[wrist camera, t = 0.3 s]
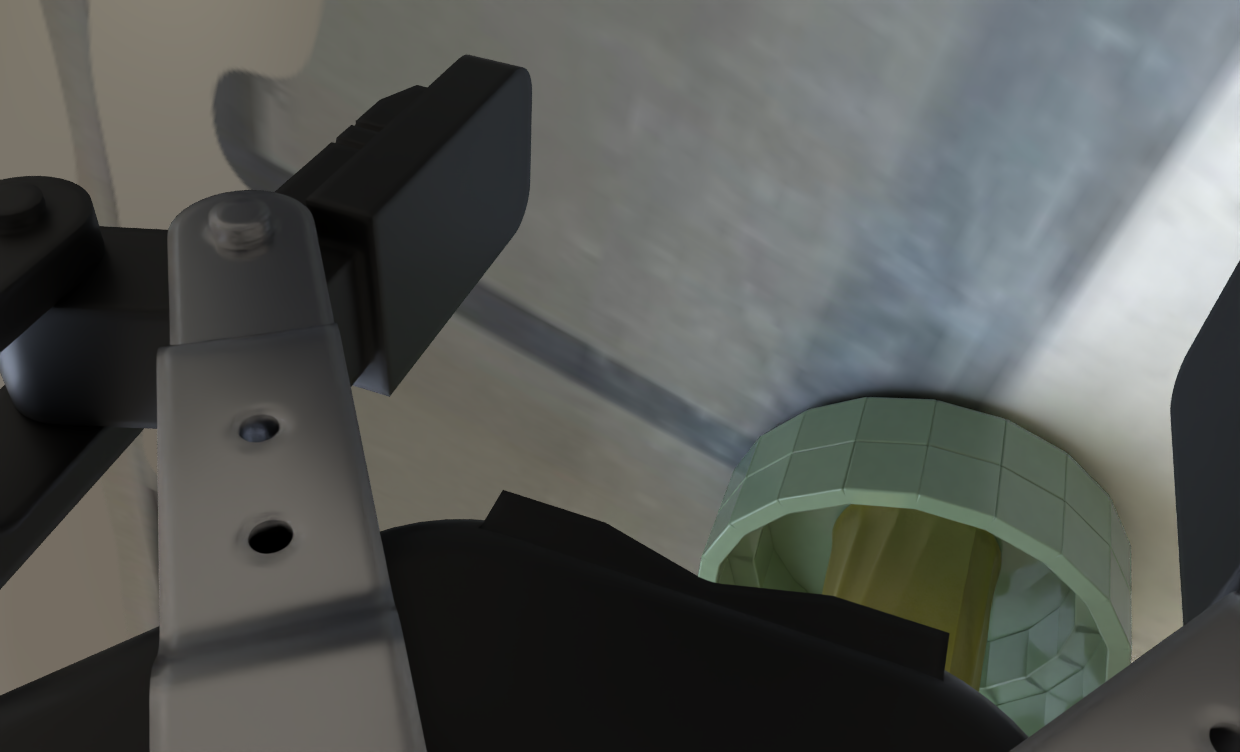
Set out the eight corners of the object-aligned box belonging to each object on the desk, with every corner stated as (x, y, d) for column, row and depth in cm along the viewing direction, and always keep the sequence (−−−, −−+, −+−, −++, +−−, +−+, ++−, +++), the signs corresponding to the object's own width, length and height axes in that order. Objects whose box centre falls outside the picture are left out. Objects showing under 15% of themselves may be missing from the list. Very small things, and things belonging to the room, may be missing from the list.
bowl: (762, 340, 37) (724, 436, 33) (1201, 461, 34) (1211, 580, 30) (710, 591, 47) (676, 686, 43) (1048, 701, 44) (1041, 813, 40)
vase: (1039, 550, 38) (1010, 955, 28) (931, 622, 42) (872, 995, 32) (897, 460, 38) (815, 838, 27) (803, 542, 42) (701, 894, 32)
